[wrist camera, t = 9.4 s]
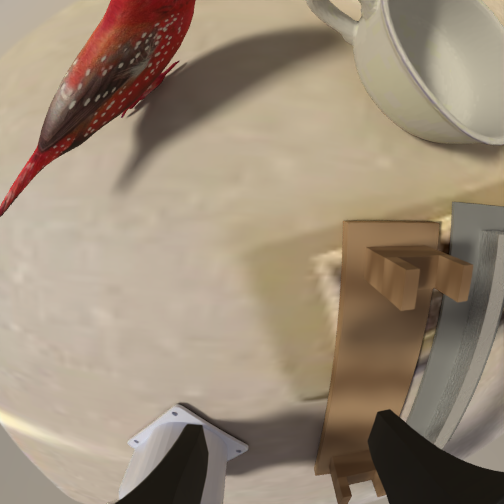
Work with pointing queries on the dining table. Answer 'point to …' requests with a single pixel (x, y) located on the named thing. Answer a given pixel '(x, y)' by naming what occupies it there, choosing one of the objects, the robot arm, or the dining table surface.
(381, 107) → the teacup
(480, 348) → the steel bar
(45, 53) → the dining table surface
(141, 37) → the decorative bird figurine
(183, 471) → the robot arm
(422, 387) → the mat
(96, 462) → the dining table surface
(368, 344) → the hook stands
